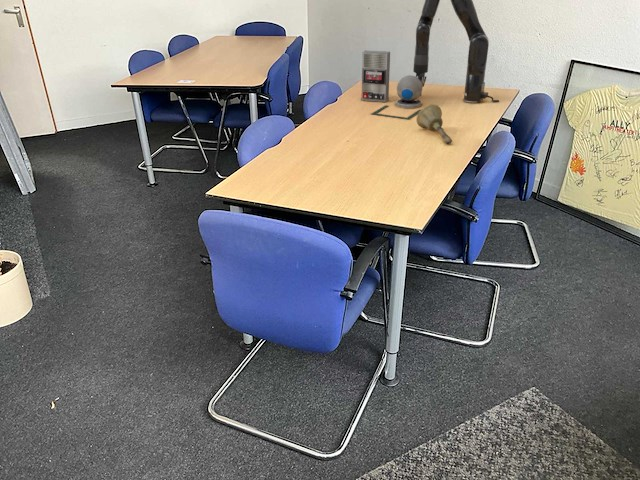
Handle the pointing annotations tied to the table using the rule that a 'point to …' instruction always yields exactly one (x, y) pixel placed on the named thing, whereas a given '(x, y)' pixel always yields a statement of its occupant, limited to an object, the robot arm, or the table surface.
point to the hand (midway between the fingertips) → (418, 96)
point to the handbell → (432, 120)
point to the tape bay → (394, 116)
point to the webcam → (409, 92)
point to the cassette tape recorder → (375, 75)
